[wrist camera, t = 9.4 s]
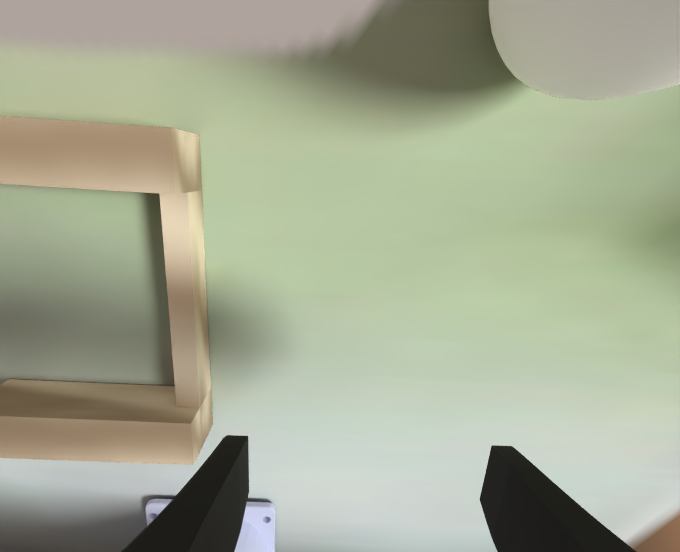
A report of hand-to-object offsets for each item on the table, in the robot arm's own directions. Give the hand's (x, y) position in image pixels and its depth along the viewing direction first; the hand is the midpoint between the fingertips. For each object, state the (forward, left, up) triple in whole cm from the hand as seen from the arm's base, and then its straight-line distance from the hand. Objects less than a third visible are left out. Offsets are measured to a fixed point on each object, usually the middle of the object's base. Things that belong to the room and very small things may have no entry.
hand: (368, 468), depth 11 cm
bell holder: (+2, +14, -9) cm, 17 cm away
